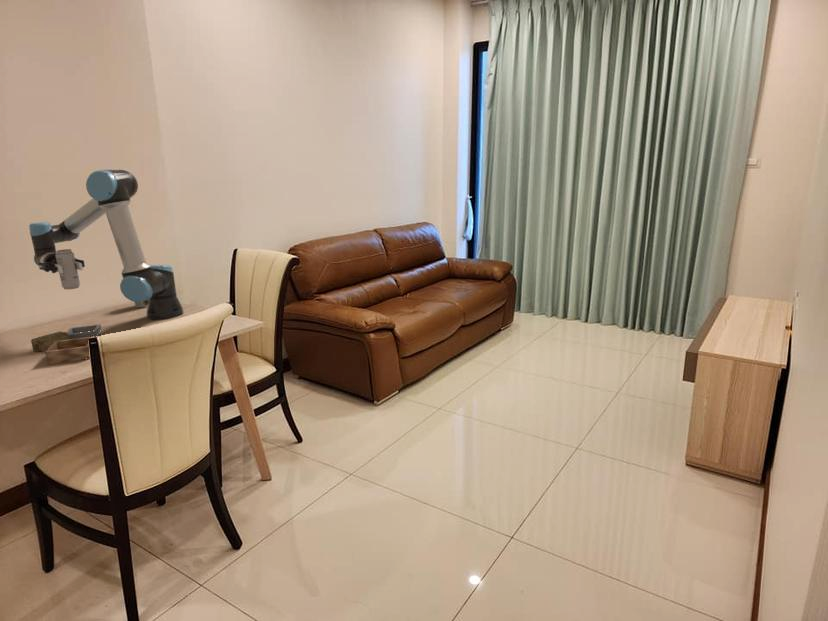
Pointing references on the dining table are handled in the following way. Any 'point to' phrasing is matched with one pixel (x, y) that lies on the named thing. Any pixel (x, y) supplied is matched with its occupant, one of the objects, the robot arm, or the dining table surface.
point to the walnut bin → (68, 350)
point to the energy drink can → (68, 269)
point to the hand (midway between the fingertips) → (71, 268)
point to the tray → (84, 331)
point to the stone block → (48, 340)
